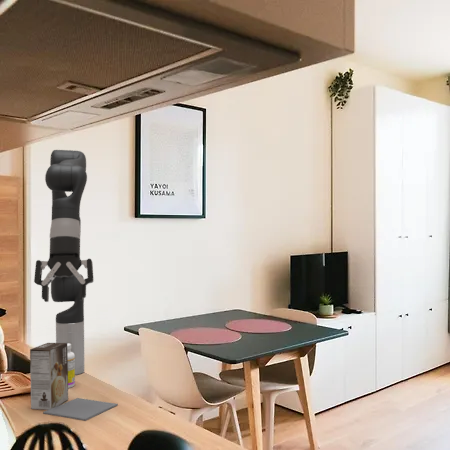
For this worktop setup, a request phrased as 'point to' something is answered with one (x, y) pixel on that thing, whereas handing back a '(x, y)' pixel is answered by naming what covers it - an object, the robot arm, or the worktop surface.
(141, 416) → the worktop surface
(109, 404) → the mat
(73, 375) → the supplement bottle
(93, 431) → the worktop surface
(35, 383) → the coffee box
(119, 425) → the worktop surface
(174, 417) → the worktop surface
